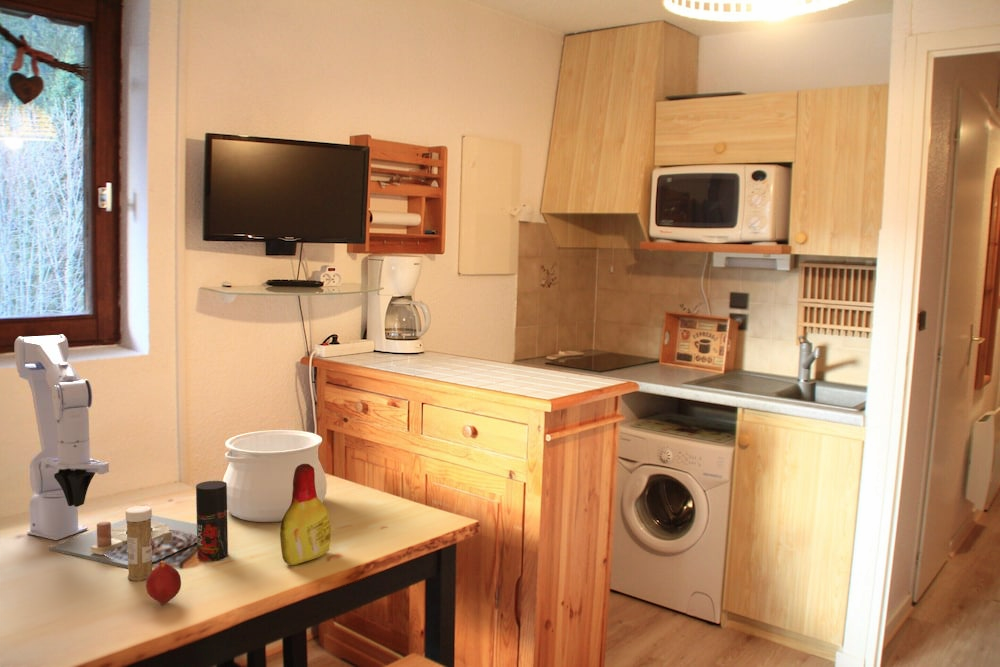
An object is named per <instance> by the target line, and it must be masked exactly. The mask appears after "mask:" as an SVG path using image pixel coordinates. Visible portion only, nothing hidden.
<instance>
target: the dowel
mask: <svg viewBox="0 0 1000 667" xmlns="http://www.w3.org/2000/svg"><path fill="white" fill-rule="evenodd" d="M171 541H172V531H165V532H163V543H169V542H171Z"/></svg>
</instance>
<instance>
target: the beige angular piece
mask: <svg viewBox="0 0 1000 667" xmlns="http://www.w3.org/2000/svg"><path fill="white" fill-rule="evenodd" d="M111 524H112V523H111V521H100V522H98V523H96V530H97V544H96V545H94V546H91V553H95V554H100V555H104V554H106V553H108V552H109V551H112V550H114V549H115V548H118V547H120V546H122V545H126V544H127V524H126V525H123V526H120V527H118V528H115V529H112V531H111ZM165 531H169V526H168V525H167V524H163V523H158V522H151V535H152V541H154V540H156V539H158V538H160V537H163V532H165Z"/></svg>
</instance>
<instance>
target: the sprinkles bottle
mask: <svg viewBox="0 0 1000 667" xmlns="http://www.w3.org/2000/svg"><path fill="white" fill-rule="evenodd" d="M152 515H153V512H152V507H150V506H148V505H136V506H131V507H129V508H127V509H126V510H125V519H126V520H127V521H126V522H127V552H128V568H127V569H128V574H127V578H128V579H129V580H131V581H134V582H135V581H144V580H147V578H148V576H149V575H150V573H151V572H152V571H153V570H154V569H153V563H152V535H151V517H152Z"/></svg>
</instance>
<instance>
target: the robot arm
mask: <svg viewBox="0 0 1000 667" xmlns="http://www.w3.org/2000/svg"><path fill="white" fill-rule="evenodd" d="M69 353H70V352H69V342H68V339H67V337H66V336H65V335H64V334H58V335H57V334H55V335H54V334H53V335H38V336H18V337H17V338H16V339H15V341H14V357H15V359H14V360H15V364H16V370H17V373H18V376H19V378H21V379H24V380H26V381H27V382H28V385H29V387H30V390H31V391H30V392H31V395H32V401H33V402H32V403H33V407H34V413H35V419H36V425H37V430H38V436H39V442H40V443H39V444H40V449H41V451H39V452H38V453H37V454H35V455H34V456H33V457H32V459H31V461H30V463H29V480H30V487H31V491H32V492H33V495H32V496H31V498H30V501H29V504H28V506H29V507H28V509H29V527H30V529H29V530H27V531H26V534H28V535H32V536H36V537H40V538H45V539H48V540H49V539H50V540H55V541H58V540H62V539H64V538H67V537H70V536H72V535H76V534H78V533H81V532H84V531H86V530H88V526H84V525H81V524H79V513H78V512H79V511H78V509H79V508H78V507H81V506H82V505H85V501H86V496H87V491H88V489H89V486H90V484H91V482H92V480H93V478H94V476H95V474H98V475H105V474H106V473H110V466H109V465H110V464H109V462H105V461H100V460H98V459H93V458H91V450H90V449H91V448H90V446H91V444H90V443H91V442H90V419H89V418H90V416H89V408H91V407H92V403H93V391H92V385H91V382H90V381H89V379H88V378H87V379H86V378H81V377H80V375H79V374H78V372H77V370H76V369H75V367H74V366H73V365H72V364H71V363H70V362H68V361H67V360H68V358H69Z"/></svg>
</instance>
